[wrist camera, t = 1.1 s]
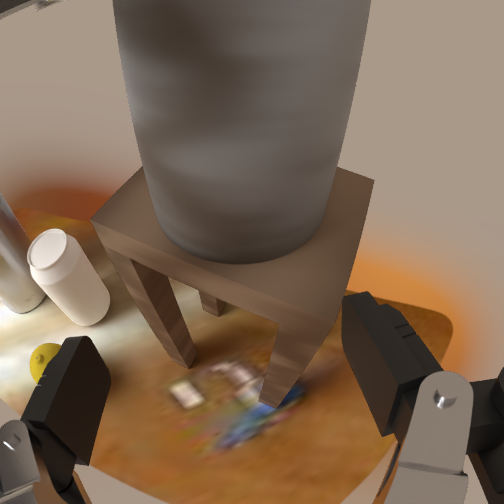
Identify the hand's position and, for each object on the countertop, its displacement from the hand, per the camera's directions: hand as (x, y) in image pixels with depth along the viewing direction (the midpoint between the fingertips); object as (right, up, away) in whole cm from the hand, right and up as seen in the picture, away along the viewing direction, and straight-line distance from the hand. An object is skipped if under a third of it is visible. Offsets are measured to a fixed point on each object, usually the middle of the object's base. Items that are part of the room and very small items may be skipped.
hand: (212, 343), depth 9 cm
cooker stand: (0, -8, +23) cm, 25 cm away
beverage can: (-19, -4, +26) cm, 32 cm away
